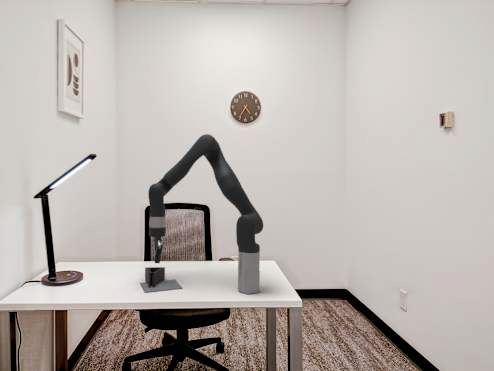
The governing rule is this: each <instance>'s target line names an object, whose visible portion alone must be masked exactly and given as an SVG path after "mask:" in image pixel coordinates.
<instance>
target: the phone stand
mask: <svg viewBox="0 0 494 371" xmlns="http://www.w3.org/2000/svg"><path fill="white" fill-rule="evenodd" d="M165 268H166V267H165V266H164V267H163V266H159V267H158V266H157V267H155V266H154V267H151V266H150V267H144V272H145V273H144V276H145V277H144V281H145V282H147V284H148V287H149V288H151V286H152V288H154V287H155V286H156V285H157V284H159V283H161V282H162V281H164V280H166V279H165V278H166V273H165V272H166V269H165Z"/></svg>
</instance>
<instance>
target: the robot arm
mask: <svg viewBox="0 0 494 371" xmlns="http://www.w3.org/2000/svg"><path fill="white" fill-rule="evenodd" d="M203 156H204V157H205V159H206V160H207V161H208V163H209V165H210V166H211V168H212V171H213V174H214V175H213V176H214V177H215V181H216V184H217V185H218V188H219V189H220V191H221V193H222V195H223V196H224V198H225V199H226V200H228V201H229V203H231V204H232V205H233V206H234V207H235V208H236V210H238V212H239V214H240V216H239V217H238V219H237V221H236V224H235V225H236V227H235V228H236V229H235V233H236V236H235V237H236V245H237V247H238V258H237V262H238V263H237V264H238V265H237V267H238V268H237V292H240V293H243V294H245V295H250V294H258V293H260V276H261V272H260V260H261V259H260V258H261V257H260V256H261V254H260V252H261V249H260V246H261V245H260V244H259V243H257V242H256V235H257V234H260V233H262V232H263V230H264V221H263V219H262V217H261V215H260V214H259V212H258V211H257V209H256V208H255V206H254V205H253V203H252V202H251V200H250V199H249V197H248V195H247V194H246V191H245V190H244V187H243V186H242V183H241V182H240V180H239V178H238V177H237V175H236V174H235V172H234V170H233V169H232V167H231V166H230V164H229V163H228V161H227V160H226V158H225V156H224V154H223V150H222V148H221V146H220V143H219V142H218V140H217V139H216V138H215V137H214V136H213V135H211V134H208V133H206V134H203V135H201V136H199V138H198V139H197V140H196V141H195V142H194V144H193V145H192V146H191V147H190V148H189V149H188V151H187V152H186V153H185V154H184V155H183V157H182V158H181V159H180V160H179V161H177V162H176V164H175V165H173V166H172V167H171V168H170V169H169V170H168V171H167V172H166V173H165V174H164V175H163V177H162V178H161V179H159V181H158V182H156V183H153V184H151V185H150V187H149V188H148V193H147V194H148V202H149V220H148V222H149V224H148V226H149V227H148V228H149V230H148V235H149V237H151V238H153V239H152V249H153V255H154V263H155V264H160V263H161V255H162V252H163V247H164V245H163V240H162V238H163V237H165V236H166V234H167V230H166V227H167V226H166V225H167V222H166V205H165V204H164V201H165V200H164V197H165V196H166V195H167V194H168V193H169V192H170V191H171V190H172V189H173V187H175V186H177V184H178V183H180V182H181V181H183V179H184V178H185V177H186V176H187V174H189V172H190V170H191V169H192V167H193V166H194V164H195V163H196V162H197V161H198V160H199V159H201V157H203Z"/></svg>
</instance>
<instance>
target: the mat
mask: <svg viewBox="0 0 494 371" xmlns="http://www.w3.org/2000/svg"><path fill="white" fill-rule="evenodd" d="M140 286H141V288H142V290H143V292H144V293H145V294H146V293H156V292H166V291H172V290H173V291H174V290H180V289H181V290H183V286H182V285H180V284H179V282H178V281H177V279H165V280H164V281H162V282H161V283H159V284H157V285H156V286H155V287H154V288H152V286H151V288H149V287H148V284H147V282H146V281H145V282H144V281H143V282H140Z"/></svg>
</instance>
